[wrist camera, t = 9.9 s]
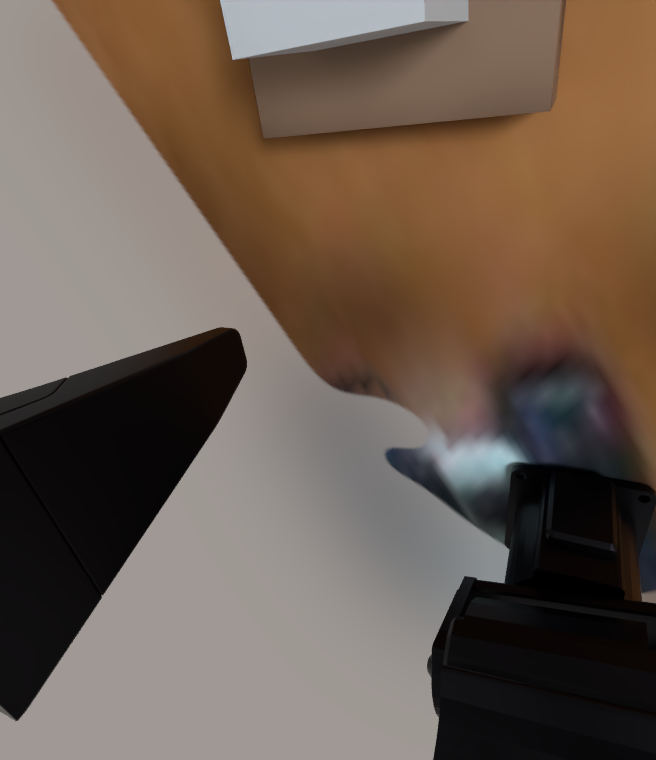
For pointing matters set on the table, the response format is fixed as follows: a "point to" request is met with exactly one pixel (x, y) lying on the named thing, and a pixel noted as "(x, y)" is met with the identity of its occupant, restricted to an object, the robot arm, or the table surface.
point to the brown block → (418, 74)
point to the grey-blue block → (328, 22)
